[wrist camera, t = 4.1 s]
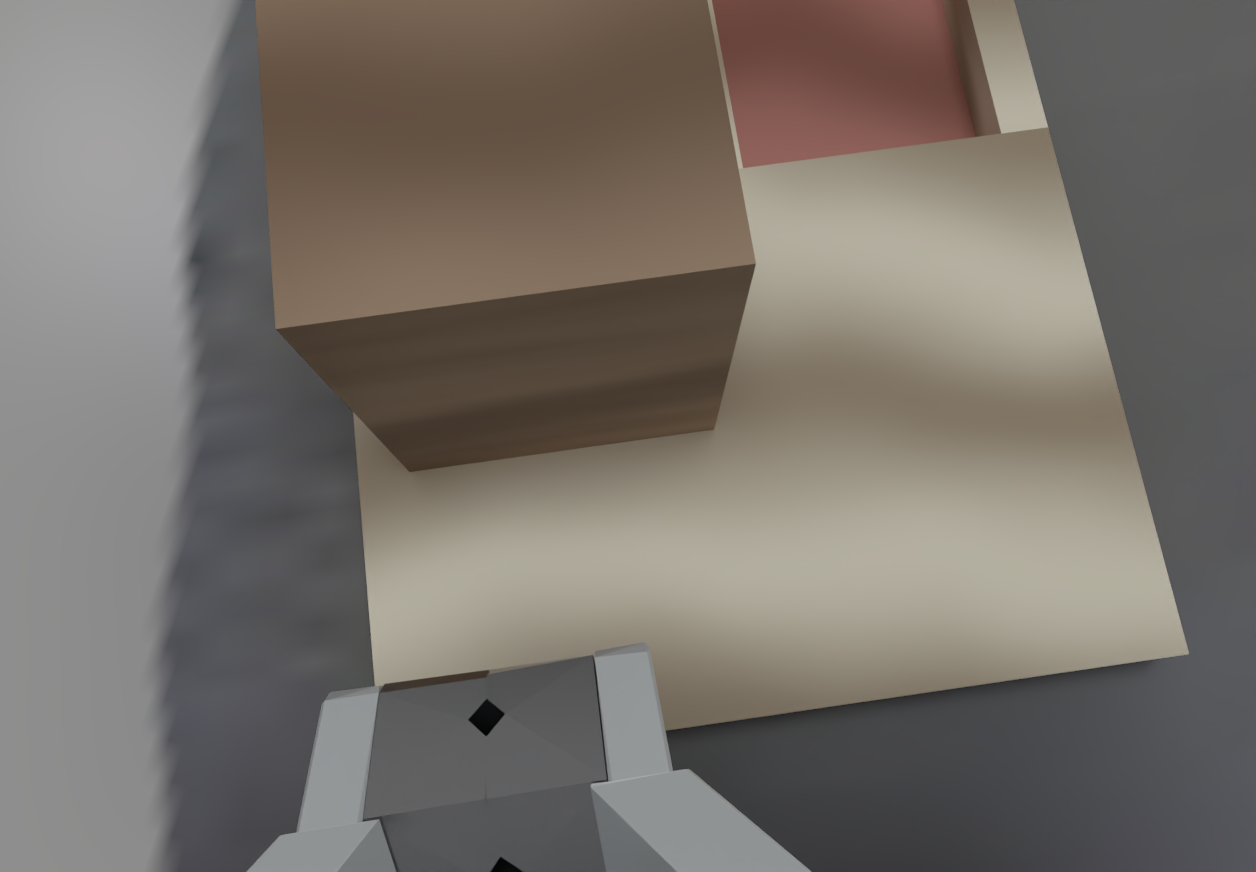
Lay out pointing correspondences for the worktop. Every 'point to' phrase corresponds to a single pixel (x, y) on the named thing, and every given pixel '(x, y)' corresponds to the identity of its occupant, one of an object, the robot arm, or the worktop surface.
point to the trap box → (829, 418)
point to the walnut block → (504, 218)
